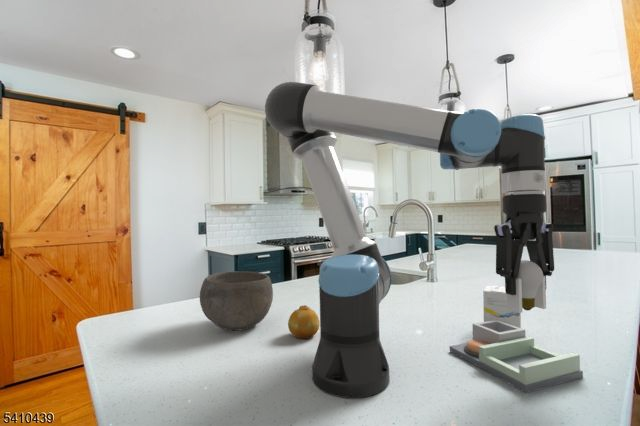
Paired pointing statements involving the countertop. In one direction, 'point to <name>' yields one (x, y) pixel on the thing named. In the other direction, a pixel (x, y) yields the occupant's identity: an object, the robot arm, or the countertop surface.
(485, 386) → the countertop surface
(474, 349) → the checker pad
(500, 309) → the ink box
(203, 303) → the bowl
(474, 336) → the compartment tray
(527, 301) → the light bulb
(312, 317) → the fruit
